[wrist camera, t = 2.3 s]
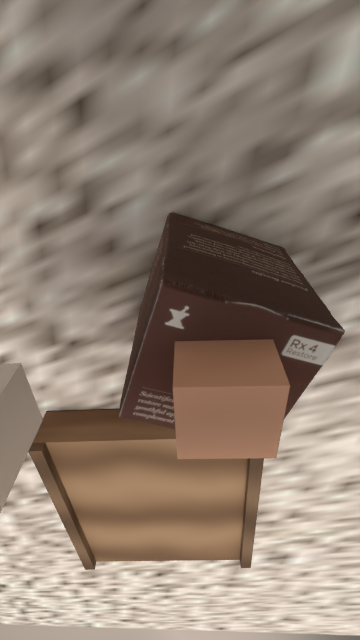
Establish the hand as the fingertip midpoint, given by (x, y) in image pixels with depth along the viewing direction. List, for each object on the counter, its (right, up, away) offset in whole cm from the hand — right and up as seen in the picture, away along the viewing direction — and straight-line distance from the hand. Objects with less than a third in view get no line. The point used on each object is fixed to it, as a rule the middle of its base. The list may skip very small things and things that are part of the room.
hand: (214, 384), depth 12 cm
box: (0, +4, +6) cm, 7 cm away
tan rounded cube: (0, 0, -1) cm, 1 cm away
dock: (-3, -10, +15) cm, 18 cm away
